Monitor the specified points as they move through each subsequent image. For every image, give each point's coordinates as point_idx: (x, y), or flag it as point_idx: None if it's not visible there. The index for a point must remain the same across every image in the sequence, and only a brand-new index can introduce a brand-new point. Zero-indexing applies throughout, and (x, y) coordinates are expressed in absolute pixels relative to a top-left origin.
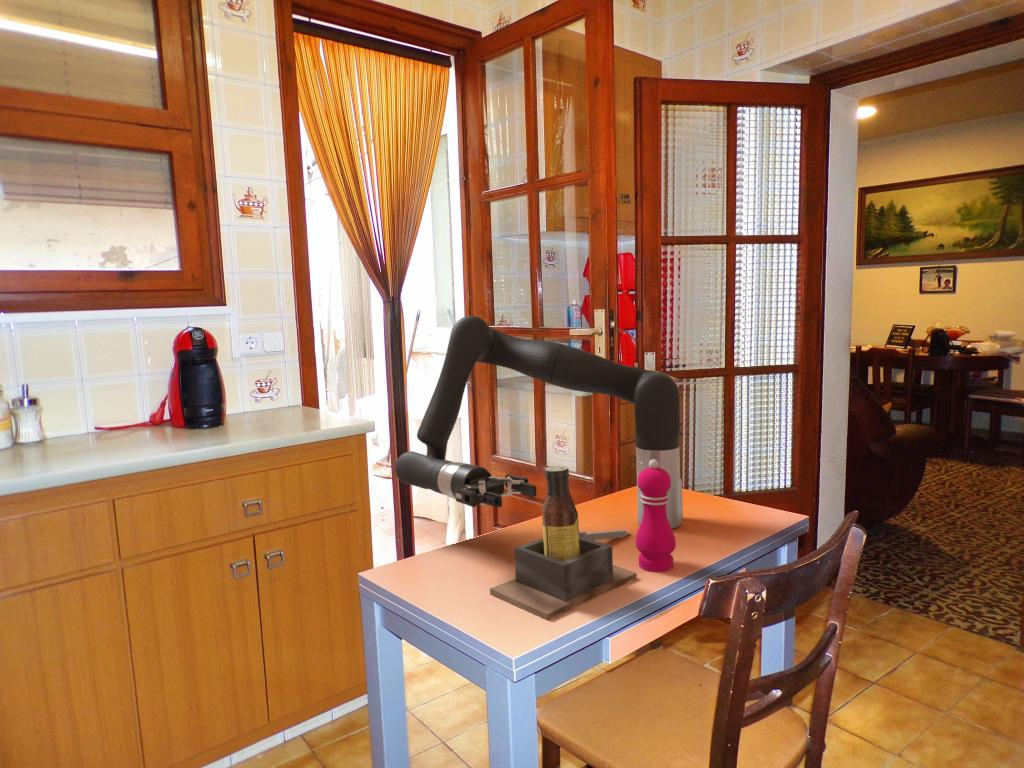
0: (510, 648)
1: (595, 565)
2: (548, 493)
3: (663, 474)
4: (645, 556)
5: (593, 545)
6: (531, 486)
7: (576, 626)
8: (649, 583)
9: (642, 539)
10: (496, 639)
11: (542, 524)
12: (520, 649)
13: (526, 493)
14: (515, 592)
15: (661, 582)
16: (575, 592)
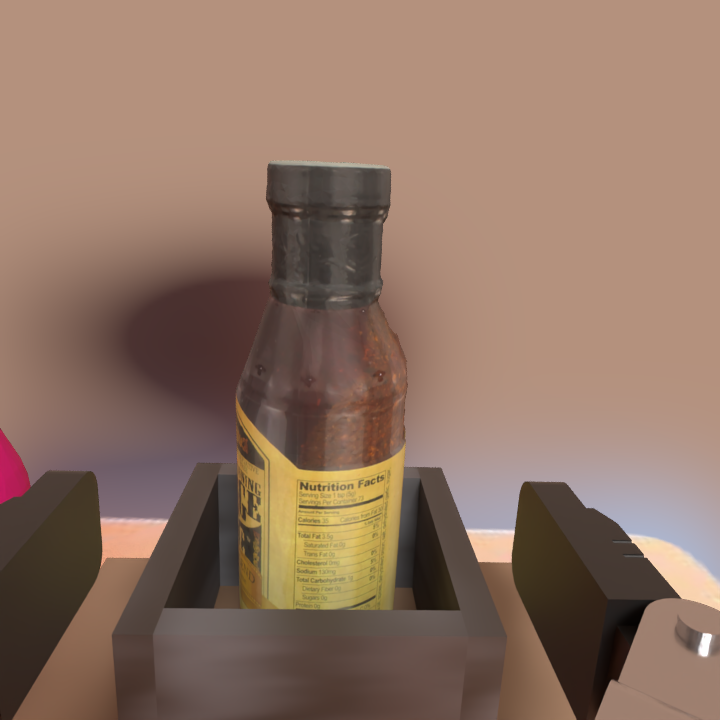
0: (670, 557)
1: None
2: (380, 291)
3: None
4: None
5: (210, 501)
6: (83, 483)
7: (471, 533)
8: (129, 544)
9: (12, 484)
10: (699, 594)
11: (394, 456)
12: (646, 545)
13: (54, 621)
14: (546, 706)
15: (106, 532)
16: None
